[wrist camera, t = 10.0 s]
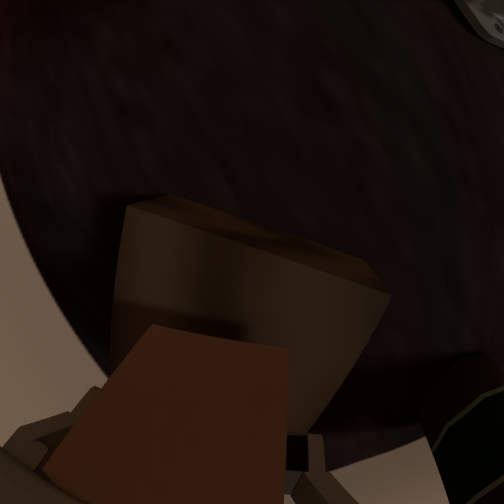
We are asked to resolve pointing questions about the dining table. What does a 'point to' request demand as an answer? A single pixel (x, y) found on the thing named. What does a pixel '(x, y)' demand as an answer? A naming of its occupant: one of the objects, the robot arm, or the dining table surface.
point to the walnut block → (245, 293)
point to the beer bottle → (467, 429)
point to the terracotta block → (182, 426)
